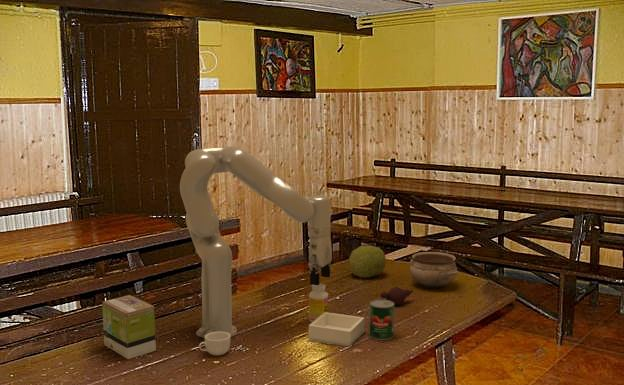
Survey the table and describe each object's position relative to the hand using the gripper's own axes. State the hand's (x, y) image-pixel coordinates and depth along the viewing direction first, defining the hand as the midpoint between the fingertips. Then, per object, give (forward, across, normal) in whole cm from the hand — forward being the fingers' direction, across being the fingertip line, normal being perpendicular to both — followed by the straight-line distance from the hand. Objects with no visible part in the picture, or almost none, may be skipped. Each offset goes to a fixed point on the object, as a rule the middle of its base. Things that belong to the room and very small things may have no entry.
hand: (320, 280), depth 228 cm
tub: (+14, -12, -10) cm, 21 cm away
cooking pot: (+16, +56, -26) cm, 64 cm away
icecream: (+15, +28, -19) cm, 37 cm away
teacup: (+14, -40, +19) cm, 46 cm away
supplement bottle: (+14, -1, +1) cm, 15 cm away
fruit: (+16, +59, +3) cm, 61 cm away
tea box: (+13, -47, +45) cm, 66 cm away
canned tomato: (+15, -5, -23) cm, 28 cm away
